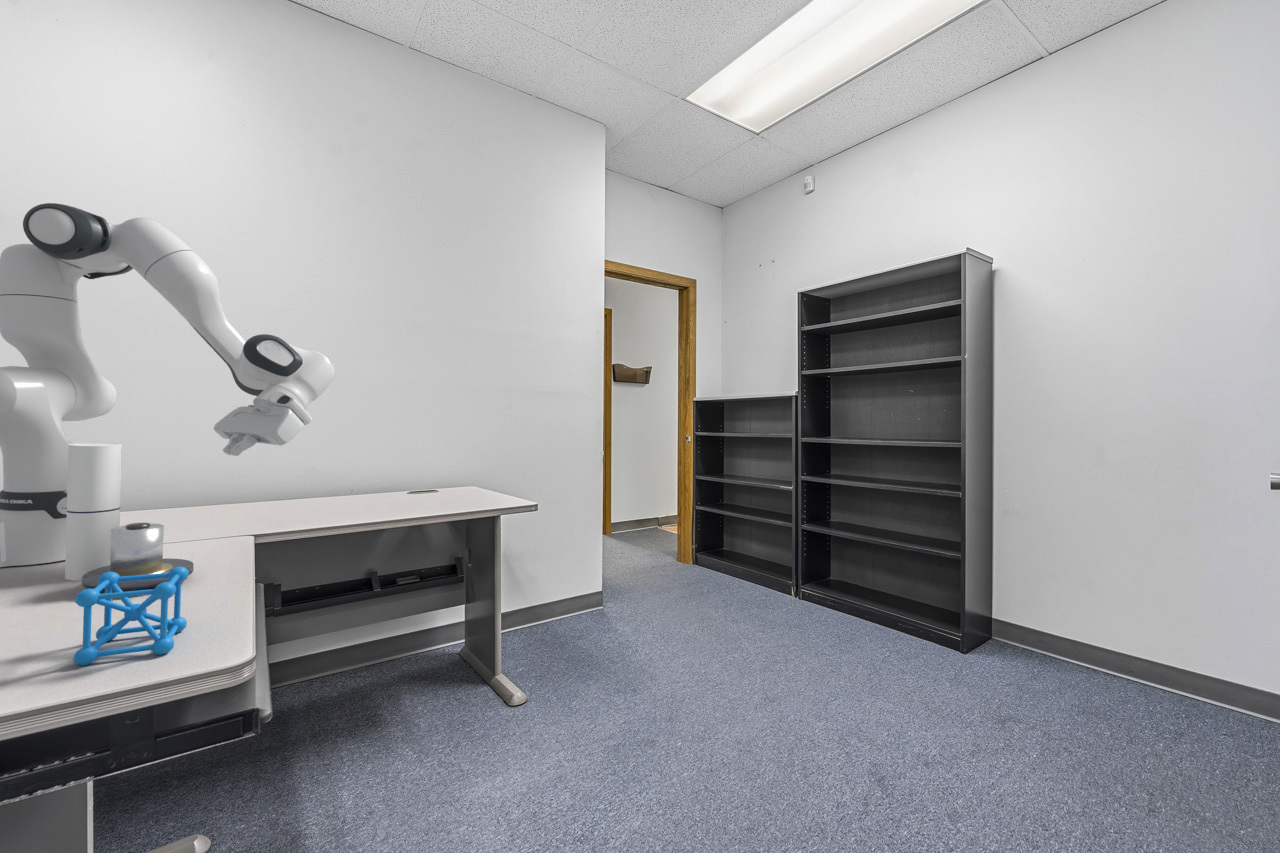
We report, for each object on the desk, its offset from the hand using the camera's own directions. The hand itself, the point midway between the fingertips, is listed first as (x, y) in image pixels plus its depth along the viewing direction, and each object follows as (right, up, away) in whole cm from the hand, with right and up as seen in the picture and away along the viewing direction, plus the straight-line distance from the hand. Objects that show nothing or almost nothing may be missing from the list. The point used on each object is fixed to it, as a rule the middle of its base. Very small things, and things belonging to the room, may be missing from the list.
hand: (229, 453), depth 112 cm
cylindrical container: (-19, -23, -9) cm, 31 cm away
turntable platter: (-6, -22, -13) cm, 26 cm away
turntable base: (-6, -23, -13) cm, 28 cm away
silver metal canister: (-6, -21, -14) cm, 26 cm away
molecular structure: (+15, -26, -37) cm, 47 cm away
